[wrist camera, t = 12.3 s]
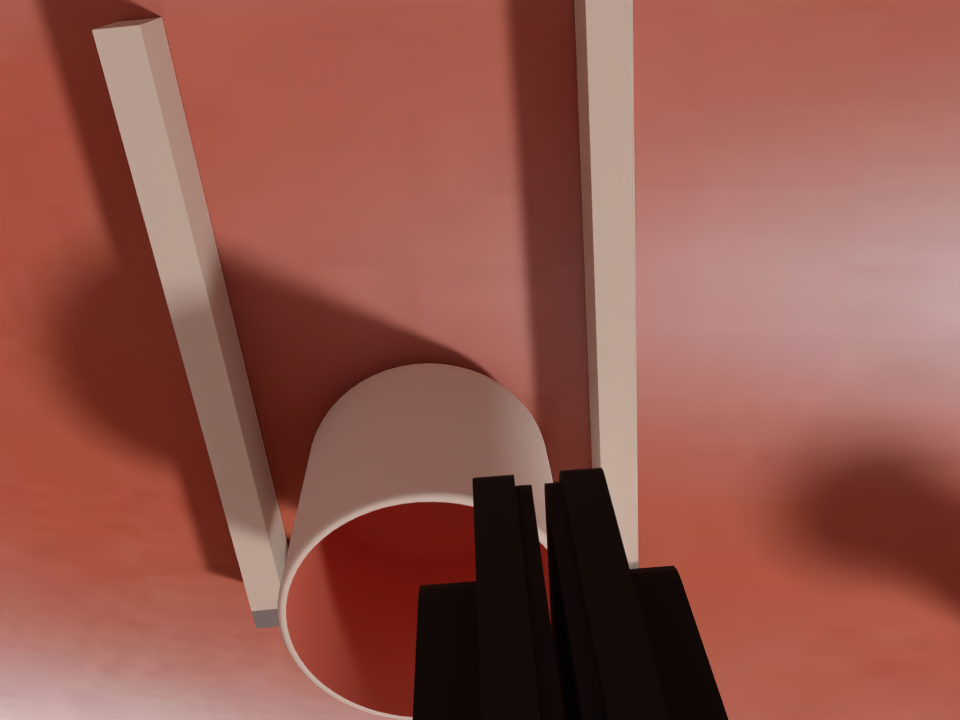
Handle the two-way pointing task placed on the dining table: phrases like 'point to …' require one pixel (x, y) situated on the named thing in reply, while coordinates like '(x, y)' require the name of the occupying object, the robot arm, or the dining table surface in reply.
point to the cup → (396, 521)
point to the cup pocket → (208, 315)
